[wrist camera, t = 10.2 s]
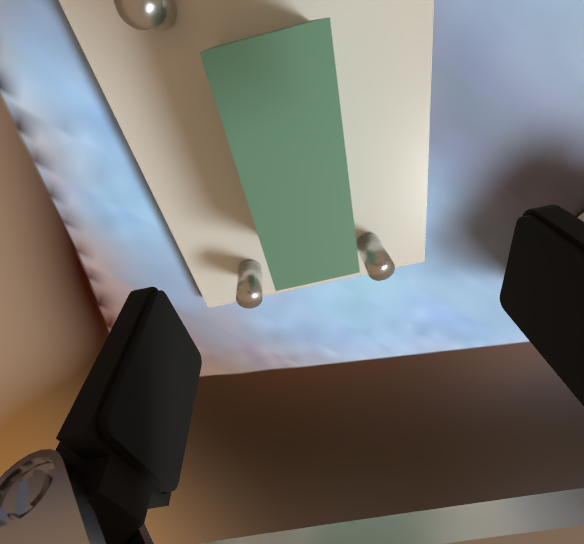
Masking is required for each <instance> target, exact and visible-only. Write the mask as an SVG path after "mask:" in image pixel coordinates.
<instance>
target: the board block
mask: <svg viewBox="0 0 584 544" xmlns="http://www.w3.org/2000/svg"><path fill="white" fill-rule="evenodd" d="M199 53H200V56H201V59H202V62H203V65H204V68H205V71H206V75H207V78H208V81H209V84H210V87H211V90H212V93H213V96H214V100H215V103H216V106H217V109H218V112H219V115H220V118H221V121H222V125H223V128H224V131H225V134H226V137H227V140H228V143H229V146H230V150H231V153H232V156H233V159H234V162H235V165H236V168H237V171H238V174H239V178H240V181H241V184H242V187H243V190H244V193H245V196H246V199H247V203H248V206H249V209H250V212H251V215H252V218H253V221H254V224H255V228H256V231H257V234H258V237H259V240H260V243H261V246H262V249H263V253H264V256H265V259H266V262H267V265H268V268H269V271H270V274H271V278H272V281H273V284H274V287H275V290H276V291H279V290H283V289H288V288H292V287H296V286H301V285H305V284H310V283H314V282H319V281H323V280H328V279H332V278H337V277H341V276H346V275H350V274H355V273H359V272H360V269H359V260H358V252H357V243H356V235H355V226H354V218H353V209H352V201H351V192H350V184H349V176H348V167H347V159H346V150H345V142H344V133H343V125H342V116H341V108H340V99H339V91H338V82H337V74H336V65H335V57H334V48H333V40H332V31H331V23H330V17H328V18H322V19H316V20H310V21H306V22H303V23H299V24H295V25H292V26H288V27H284V28H280V29H277V30H273V31H269V32H266V33H262V34H258V35H254V36H251V37H247V38H243V39H240V40H236V41H232V42H228V43H225V44H221V45H217V46H214V47H212V48H209V49H206V50H204V51H201V52H199Z"/></svg>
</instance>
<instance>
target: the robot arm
mask: <svg viewBox="0 0 584 544" xmlns="http://www.w3.org/2000/svg"><path fill="white" fill-rule="evenodd" d="M500 302H501V305H502V307H503V309H504V310H505V312H506V313H507V314H508V315H509V316H510V318H511V319H512V320H513V321H514V322H515V324H516V325H517V326H518V327H519V328H520V330H521V331H522V332H523V333H524V335H525V336H526V337H527V338H528V339H529V341H530V342H531V343H532V344H533V345H534V347H535V348H536V349H537V350H538V351H539V353H540V354H541V355H542V356H543V358H544V359H545V360H546V361H547V362H548V364H549V365H550V366H551V367H552V368H553V370H554V371H555V372H556V373H557V375H558V376H559V377H560V378H561V379H562V381H563V382H564V383H565V384H566V385H567V387H568V388H569V389H570V390H571V391H572V393H573V394H574V395H575V396H576V398H577V399H578V400H579V401H580V402H581V404H582V405H583V406H584V222H583V221H582V220H580V219H579V218H577V217H575V216H574V215H572V214H571V213H569V212H567V211H566V210H564V209H563V208H561V207H559V206H557V205H548V206H543V207H538V208H533V209H529V210H527V211H525V213H524V214H523V216H522V217H520V218H519V219H518V220H517V222H516V226H515V231H514V235H513V240H512V244H511V249H510V253H509V258H508V262H507V267H506V271H505V275H504V280H503V284H502V289H501V293H500ZM201 363H202V362H201V355H200V352H199V351H198V349H197V347H196V345H195V344H194V342H193V340H192V338H191V337H190V335H189V333H188V332H187V330H186V328H185V326H184V325H183V323H182V321H181V319H180V318H179V316H178V314H177V312H176V311H175V309H174V307H173V306H172V304H171V302H170V300H169V299H168V297H167V295H166V294H165V292H164V291H161V290H160V291H158V289H157V288H155V287H149V288H144V289H139V290H134V291H132V292H131V293H130V294H129V296H128V298H127V300H126V302H125V304H124V306H123V308H122V310H121V312H120V314H119V316H118V318H117V320H116V321H115V323H114V325H113V327H112V329H111V331H110V333H109V335H108V337H107V339H106V341H105V343H104V345H103V347H102V349H101V351H100V353H99V355H98V357H97V359H96V361H95V363H94V365H93V367H92V369H91V371H90V373H89V375H88V377H87V378H86V380H85V382H84V384H83V386H82V388H81V390H80V392H79V394H78V396H77V398H76V400H75V402H74V404H73V406H72V408H71V410H70V412H69V414H68V416H67V418H66V420H65V422H64V424H63V426H62V428H61V430H60V432H59V433H58V436H57V437H56V439H58V440H59V441H60V443H59V445H58V446H57V448H56V450H52V449H45V450H39V451H36V452H34V453H31V454H29V455H27V456H26V457H24V458H22V459H21V460H19V461H18V462H16V463H15V464H14V465H13V466H11V467H10V468H9V469H8V470H7V471H6V472H5V473H4V474H3V475H2V476H1V477H0V544H154V543H153V541H152V539H151V536H150V534H149V532H148V530H147V528H146V526H145V524H144V521H145V517H146V513H147V509H150V508H155V507H163V506H169V501H170V496H171V491H174V490H175V489H176V488H177V486H178V482H179V478H180V473H181V468H182V463H183V457H184V452H185V447H186V442H187V437H188V432H189V427H190V421H191V416H192V411H193V406H194V401H195V395H196V390H197V385H198V380H199V375H200V370H201ZM200 544H584V488H583V489H575V490H569V491H561V492H553V493H546V494H539V495H532V496H525V497H517V498H510V499H503V500H496V501H489V502H482V503H475V504H468V505H461V506H454V507H447V508H440V509H433V510H426V511H419V512H411V513H405V514H398V515H391V516H384V517H377V518H370V519H363V520H357V521H349V522H342V523H335V524H328V525H321V526H315V527H308V528H301V529H294V530H288V531H281V532H274V533H267V534H261V535H254V536H247V537H241V538H233V539H227V540H220V541H214V542H206V543H200Z"/></svg>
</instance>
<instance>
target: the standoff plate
mask: <svg viewBox="0 0 584 544" xmlns="http://www.w3.org/2000/svg"><path fill="white" fill-rule="evenodd" d="M59 2H60V4H61V6H62V8H63V10H64V12H65V14H66V16H67V19H68V21H69V23H70V25H71V27H72V29H73V31H74V33H75V35H76V37H77V39H78V41H79V43H80V45H81V47H82V49H83V51H84V53H85V56H86V58H87V60H88V62H89V64H90V66H91V68H92V70H93V72H94V74H95V76H96V78H97V80H98V82H99V84H100V86H101V88H102V90H103V93H104V95H105V97H106V99H107V101H108V103H109V105H110V107H111V109H112V111H113V113H114V115H115V117H116V119H117V121H118V123H119V125H120V127H121V129H122V132H123V134H124V136H125V138H126V140H127V142H128V144H129V146H130V148H131V150H132V152H133V154H134V156H135V158H136V160H137V162H138V164H139V166H140V169H141V171H142V173H143V175H144V177H145V179H146V181H147V183H148V185H149V187H150V189H151V191H152V193H153V195H154V197H155V199H156V201H157V203H158V206H159V208H160V210H161V212H162V214H163V216H164V218H165V220H166V222H167V224H168V226H169V228H170V230H171V232H172V234H173V236H174V238H175V240H176V242H177V245H178V247H179V249H180V251H181V253H182V255H183V257H184V259H185V261H186V263H187V265H188V267H189V269H190V271H191V273H192V275H193V277H194V279H195V282H196V284H197V286H198V288H199V290H200V292H201V294H202V296H203V298H204V300H205V302H206V304H207V306H208V308H211V307H215V306H220V305H225V304H229V303H234V302H237V303H238V304H239V305H240V306H242V307H244V308H254V307H257V306H258V305H259V304H260V303H261V302H262V296H266V295H271V294H276V293H280V292H285V291H290V290H294V289H299V288H303V287H308V286H313V285H317V284H322V283H327V282H331V281H336V280H341V279H345V278H350V277H354V276H359V275H364V274H369V276H370V277H371V278H372V279H373V280H377V281H380V280H385V279H387V278H389V277H390V276H391V275H392V274H393V272H394V270H395V268H396V267H401V266H405V265H410V264H415V263H419V262H424V261H425V236H426V208H427V180H428V152H429V124H430V96H431V69H432V41H433V13H434V0H59ZM328 17H330V23H331V31H332V40H333V48H334V57H335V65H336V74H337V82H338V91H339V99H340V108H341V116H342V125H343V133H344V142H345V150H346V159H347V167H348V176H349V184H350V192H351V201H352V209H353V218H354V226H355V235H356V243H357V252H358V260H359V269H360V272H359V273H355V274H350V275H346V276H341V277H337V278H332V279H328V280H323V281H319V282H314V283H310V284H305V285H301V286H296V287H292V288H288V289H283V290H279V291H276V290H275V287H274V284H273V281H272V278H271V274H270V271H269V268H268V265H267V262H266V259H265V256H264V253H263V249H262V246H261V243H260V240H259V237H258V234H257V231H256V228H255V224H254V221H253V218H252V215H251V212H250V209H249V206H248V203H247V199H246V196H245V193H244V190H243V187H242V184H241V181H240V178H239V174H238V171H237V168H236V165H235V162H234V159H233V156H232V153H231V150H230V146H229V143H228V140H227V137H226V134H225V131H224V128H223V125H222V121H221V118H220V115H219V112H218V109H217V106H216V103H215V100H214V96H213V93H212V90H211V87H210V84H209V81H208V78H207V75H206V71H205V68H204V65H203V62H202V59H201V56H200V53H199V52H201V51H204V50H206V49H209V48H212V47H214V46H217V45H221V44H225V43H228V42H232V41H236V40H240V39H243V38H247V37H251V36H254V35H258V34H262V33H266V32H269V31H273V30H277V29H280V28H284V27H288V26H292V25H295V24H299V23H303V22H306V21H310V20H316V19H322V18H328Z"/></svg>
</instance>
